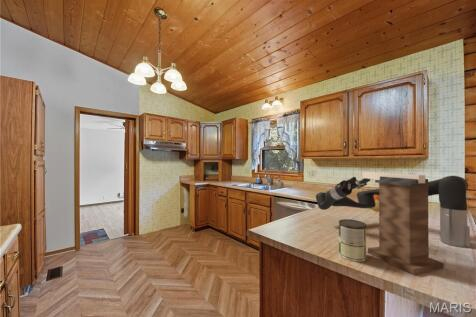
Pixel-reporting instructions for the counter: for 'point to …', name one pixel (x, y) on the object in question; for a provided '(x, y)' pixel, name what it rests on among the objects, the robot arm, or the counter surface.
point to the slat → (377, 176)
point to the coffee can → (352, 240)
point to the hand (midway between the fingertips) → (362, 178)
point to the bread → (376, 198)
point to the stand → (404, 225)
